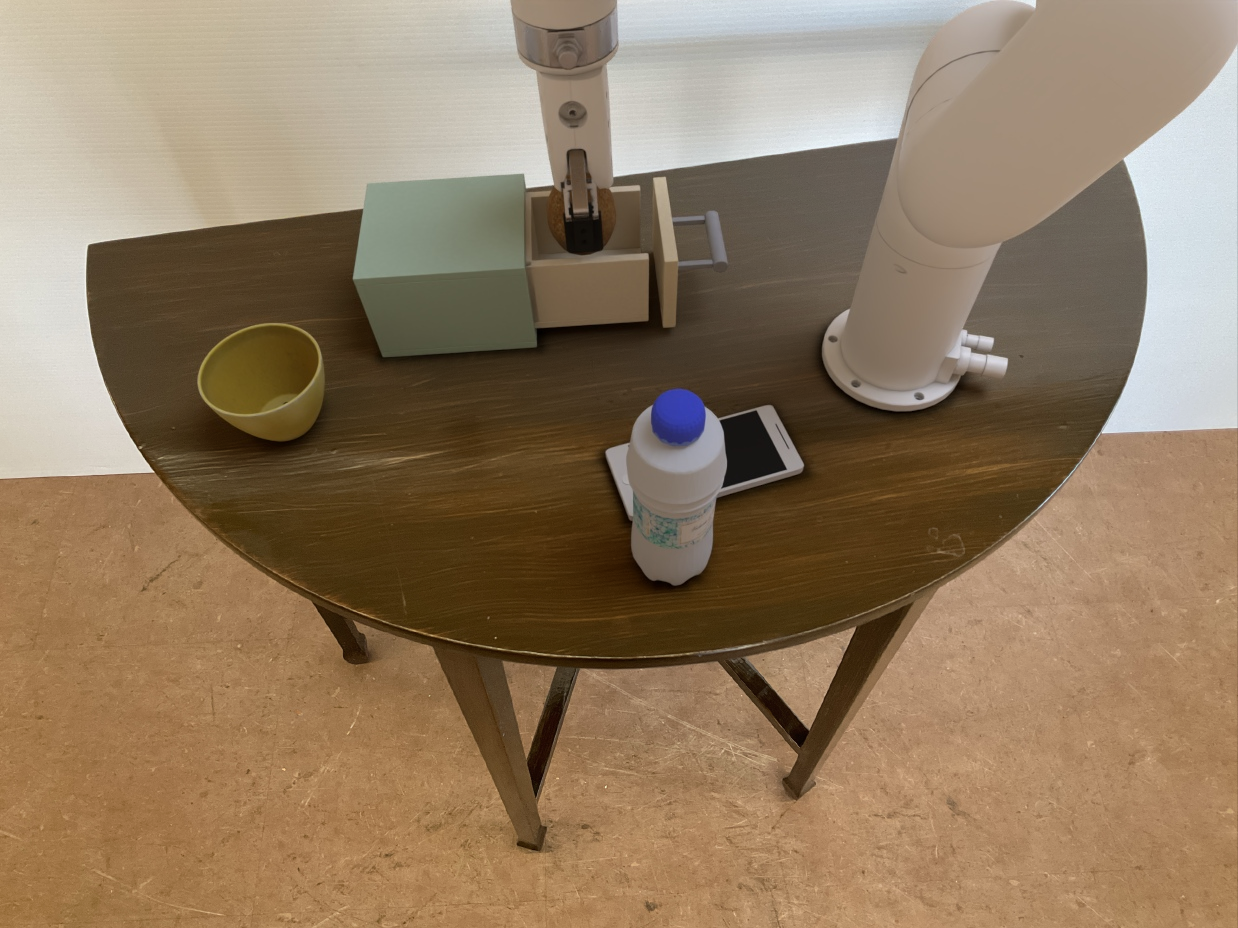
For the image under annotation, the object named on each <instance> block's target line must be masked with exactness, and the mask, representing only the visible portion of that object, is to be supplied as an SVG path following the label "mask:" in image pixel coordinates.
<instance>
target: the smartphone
mask: <svg viewBox="0 0 1238 928" xmlns="http://www.w3.org/2000/svg"><path fill="white" fill-rule="evenodd" d="M717 418H718V420H719V421H720V424H721V426H722V429H723V432H724V442H725V453H726V458H727V469H726V473H725V476H724V481H723V485H722V487H721V489H720V491H719V493H718V494H717V496H716V499H718V498H721V497H724V496H728V495H730V494H735V493H738V492H741V491H745V490H748V489H751V488H755V487H759V486H761V485H762V486H763V485H766V484H769V483H772V482H776V481H779V480H783V479H786V478H790V477H793V476H796V475H799V474H801V473H803V471H804V467H805V464H804V462H803V460H802V458H801V456H800V454H799V453H798V450H797V449H796V446H795V445H794V443H793V441H792V439H791V437H790V436H789V434H788V431H787V430H786V428H785V426H784V424H783V422H782V421H781V418H780V417H779V415H778V413H777V411H776V409H775V408H774V406H773V405H771V404H767V405H761V406H759V407H755V408H750V409H747V410H744V411H741V412H736V413H733V414H729V415H726V416H722V417H717ZM629 445H630V442H627V443H624V444H623V443H622V444H619V445H616V446H612V447H609V448H608V449H606V450H605V459H606V462H607V464H608V467H609V469H610V472H611V475H612V477H613V480H614V483H615V485H616V488H617V491H618V493H619V496H620V499H621V502H622V503H623V506H624V509H625V512H626V515H627V517H628V520H629V521H630V522H633V490H632V488H631V486H630V484H629V481H628V475H627V467H626V456H627V452H628V449H629Z"/></svg>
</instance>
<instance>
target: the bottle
mask: <svg viewBox="0 0 1238 928" xmlns="http://www.w3.org/2000/svg"><path fill="white" fill-rule="evenodd" d="M704 404H705V403H704V402H703V400H702V399H701V398H700V397H699V396H698V395H697V394H695V392H692V391H690V390H688V389H684V388H673V389H669V390H667V391H664V392H663V393H661V394H660V395H659V396H658V397H656V399H655V400H654V402H653V404H652V405H650V406H648V407H647V408H646V409H644V411H642V412H641V413H640V414H639V416H638V417H637V418H636V420H635V422H634V424H633V426H632V430H631V436H630V441H629V443H630V445H629V449H628V452H627V456H626V467H627V475H628V481H629V484H630V486H631V488H632V490H633V521H632V525H631V533H630V536H631V537H630V545H631V546H630V547H631V553H632V558H633V559H634V561H635V562H636V564H637V565H638V566H639V568H640V569H641V571H642V572H643V574H644V575H645V577H647V579H649V580H650V581H653V582H655V581H661V582H664V583H665V582H666V583H668V584H671V585H672V586H680V585H682V584H684V583H685V582H686V581H688V580H689V579H691V578H693V577H695V576H699V575H700V574H702V573H703V571H704V570H705V569H706V568H707V565H708V562H709V560H710V557H711V554H712V551H713V544H714V517H715V509H716V502H717V498H716V496H717V494H718V493H719V491H720V489H721V487H722V485H723V481H724V476H725V473H726V469H727V458H726V453H725V442H724V432H723V429H722V426H721V424H720V421H719V420H718V418H719V417H717V415H715V414H714V412H713V411H712V410H710V409H709V408H707V406H705V405H704Z"/></svg>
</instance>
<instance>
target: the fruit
mask: <svg viewBox="0 0 1238 928" xmlns="http://www.w3.org/2000/svg"><path fill="white" fill-rule="evenodd" d="M586 179H591V175H590V173H586ZM567 180H571V176H570V174H569V175H567ZM596 189H597V203H598V211H601V218H602V233H603V247H604V246H606V244H607V243H608V241H609V239H610V238H611V235H612V233H613V231H614V228H615V224H616V209H615V203H614V197H613V195H612V192H611V190H610V189H607V188H603V189H599V188H598V187H596ZM550 191H551V193H550V195H549V197H548V201H547V219H548V225H549V229H550V231H551V233H552V235H553V237H554V238H555V240H556V241H557V242H558V243H559V245H560V246H561V247H562V248H563V249H564V250H566V251H567V247H566V238H565V229H564V221H563V213H565V205H564V194H563V189H562V192H560V191H558V190H557V189H556V188H555V187H554V186H553V187H552V188H551V190H550ZM587 196H588V202H591V191H590V190H587ZM570 199H571V203H573V202H572V191H570ZM593 253H595V252H584V253H571V254H576V255H590V254H593Z"/></svg>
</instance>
